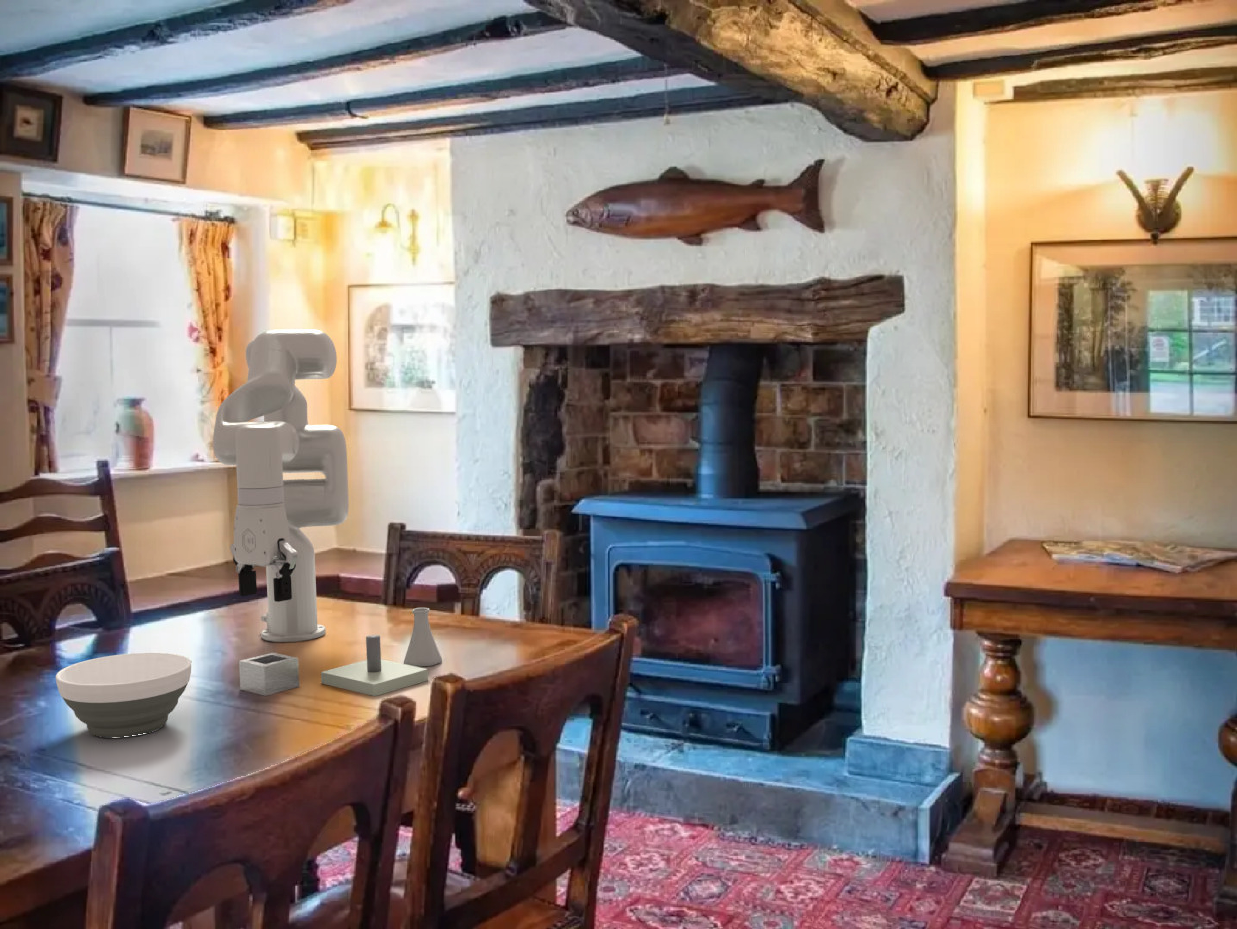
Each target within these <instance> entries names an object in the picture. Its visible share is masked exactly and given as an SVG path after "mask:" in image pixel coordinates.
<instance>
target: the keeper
mask: <svg viewBox="0 0 1237 929" xmlns="http://www.w3.org/2000/svg"><path fill="white" fill-rule="evenodd" d="M365 644H366V645H365V646H366V648H365V649H366V659H365V660H362V661H357V662H352V663H349V664H345V665H342V666H339V667H334V668H331V669H328V670H324V671H321V672H320V682H321V684H323V685H327V686H331V687H334V688H335V687H336V688H339V689H343V690H347V691H352V692H356V693H360V694H365V695H369V696H373V697H377V696H379V695H384V694H386V693H389V692H394V691H397V690H400V689H403V688H407V687H410V686H414V685H417V684H420V683H424V682H427V681H429V675H428V674H429V670H428V668H425V667H421V666H411V665H406V664H404V663H401V662H397V661H393V660H392V661H391V660H386V659H382V651H381V635H378V634H369V635H367V636H365Z"/></svg>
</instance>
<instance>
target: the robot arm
mask: <svg viewBox="0 0 1237 929" xmlns="http://www.w3.org/2000/svg"><path fill="white" fill-rule="evenodd" d="M245 359H246V364H247V367H248V373H247V378H246V380H247V381H246V382H245V383H244V384H242V385H240V386H239V387H238V388H236V389H235V390H234V391H233V392H232V393H231V394H229V395H228V396H227V397H226V398H225V399H224V400H223V401H222V402H221V404H220V405H219V407H218V409H217V412H216V415H215V421H214V428H213V435H212V447H213V448H212V449H213V454H214V456H215V458H216V459H217V461H218V462H219V463H221V464H222V465H225V466H236V485H237V486H236V487H237V505H236V507H235V508H236V509H235V514H234V523H233V524H234V525H233V543H232V544H231V545H230V547H229V549H230V553H231V555H232V557H233V558H232V560H233V563H234V564H235V571H236V573H238V594H239V596H240V597H246V596H251V595H256V594H257V593H258V587H257V583H258V582H257V570H254V568H255V567H262V568H264V567H265V570H266V573H265V574H266V590H267V591H266V594H267V612H266V614H263V615H261V616H260V621H262V622H265V623H266V628H265V629H263V630H262V631H261V633H260V634H261V635H260V637H261V639H263V640H264V641H267V642H275V643H294V642H301V641H309V640H315V639H318V638H320V637H322V636H324V635H325V634H326V631H327V630H326V626H325V625H322V624H318V609H317V608H318V604H317V584H316V582H317V581H316V563H315V562H316V561H315V560H316V559H315V558H316V557H315V548H314V546H313V543H312V541H311V540H310V539H309V537H308V536H307V535H306V534H305V533H304V532H303V531H302V530H301V529H300V528H309V527H329V526H333V527H334V526H339V525H341V524H343V523H344V522H345V521H346V520H347V518H348V515H349V503H350V502H349V479H348V478H349V477H348V454H347V444H346V438H345V434H344V432H343V431H342V430H341V428H339V427H338V426H335V425H332V424H313V425H312V424H309V422H308V402H307V399H306V398H305V396H304V394H303V393H302V392H301V391H300V389H299V388H298V387H297V385H295V384H296V381H297V380H325V379H330V378H331V377H333V375H334V374H335V371H336V368H337V361H338V360H337V359H338V358H337V350H336V346H335V344H334V341H333V340H332V339H331V337H329V335H328V334H327V333H325V332H324V331H323V330H322V331H321V330H318V329H273V330H272V329H271V330H267V331H263V332H261V333H260V334H258V335H257V336H256V337H255V338H254V340H252V341H250V342H249V343H248V344H247V346H246V348H245ZM261 417H263V421H260V420H259V421H256V420H255V419H257V418H261ZM252 420H255V421H252ZM291 473H292V474H300V473H321V474H323V475H324V478H309V479H305V478H301V479H299V478H297V479H284V474H291Z"/></svg>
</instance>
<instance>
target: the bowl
mask: <svg viewBox="0 0 1237 929" xmlns="http://www.w3.org/2000/svg"><path fill="white" fill-rule="evenodd" d="M191 673H192V660H191V659H190V658H188V657H186V656H184V655H180V654H175V653H169V652H166V653H165V652H138V653H137V652H135V653H133V652H132V653H123V654H115V655H109V656H108V655H107V656H102V657H101V656H100V657H97V658H93V659H87V660H84V661H80V662H76V663H73V664H70V665H68V666H66V667H65V668H62V669H60V670H59V671H58V672H56V675H55V682H56V686H57V689H58V692H59V695H60V697H61V698H62V699H63V701H64V703H65V705H66V706H68V707H69V708H70V709H71V710H72V711H73V713H74V715H75V717H76V718H77V719H78V720H79V721H80V722H82V723H83V724H85V725H86V728H87V730H88V732H89V733H90V735H92V736H95V735H96V736H95V737H98V736H101V737H100V738H102V737H124V736H132V735H138V734H143V733H148V734H150V733H149V732H151V733H153V732H152V731H154V732H156V731H158V730H160V729H161V728H163V727H164V726H165V725H166V724H167V722H168V719H169V714H171V713H172V712H173V710H175V708H176V707H177V705H178V703H179V699H180V698H181V696H182V694H183V693H184V692H185V691H186V688H187V686H188V684H189V682H190V678H191ZM157 729H158V730H157ZM155 730H156V731H155Z"/></svg>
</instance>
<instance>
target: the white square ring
mask: <svg viewBox="0 0 1237 929" xmlns="http://www.w3.org/2000/svg"><path fill="white" fill-rule="evenodd" d="M238 666H239V667H238V668H239V686H240V688H239V689H240V690H241V691H245V692H248V693H253V694H257V695H260V696H264V697H267V696H270V695H273V694H278V693H281V692H284V691H289V690H291V689H295V688H299V687H300V667H299V658H298V657H295V656H291V655H286V654H282V653H277V652H270V653H266V654H265V653H264V654H261V655H257V656H253V657H250V658H249V657H248V658H246V659H245V658H244V659H241V660H240V659H239V660H238Z"/></svg>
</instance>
